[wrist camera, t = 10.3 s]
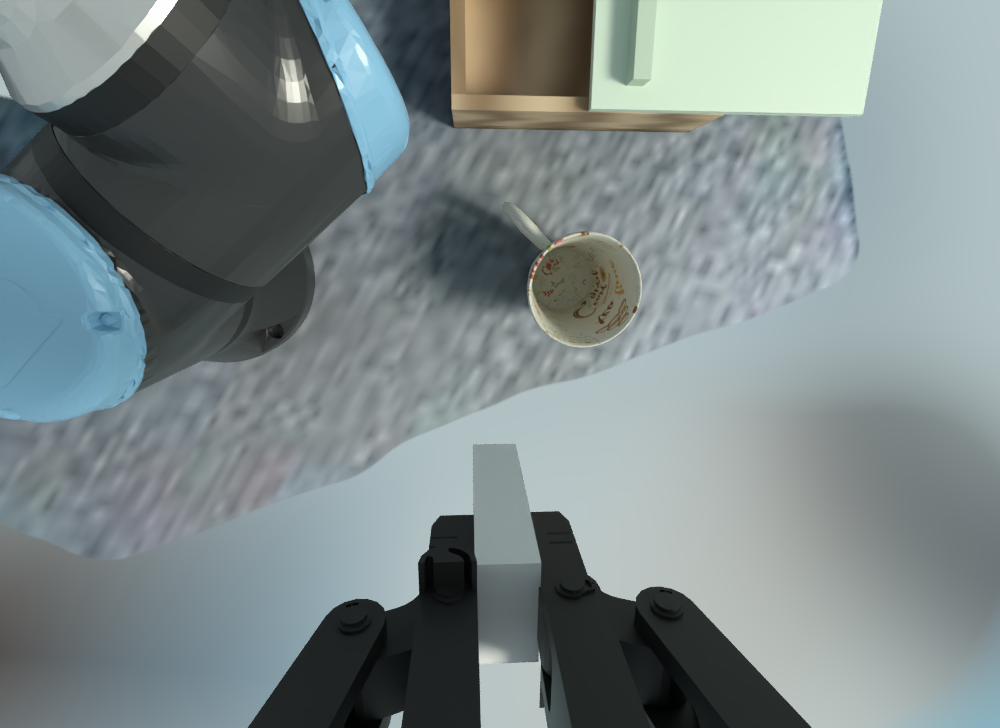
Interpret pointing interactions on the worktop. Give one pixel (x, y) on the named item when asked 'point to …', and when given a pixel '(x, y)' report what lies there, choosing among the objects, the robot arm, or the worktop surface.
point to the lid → (733, 56)
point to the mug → (580, 284)
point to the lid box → (535, 70)
